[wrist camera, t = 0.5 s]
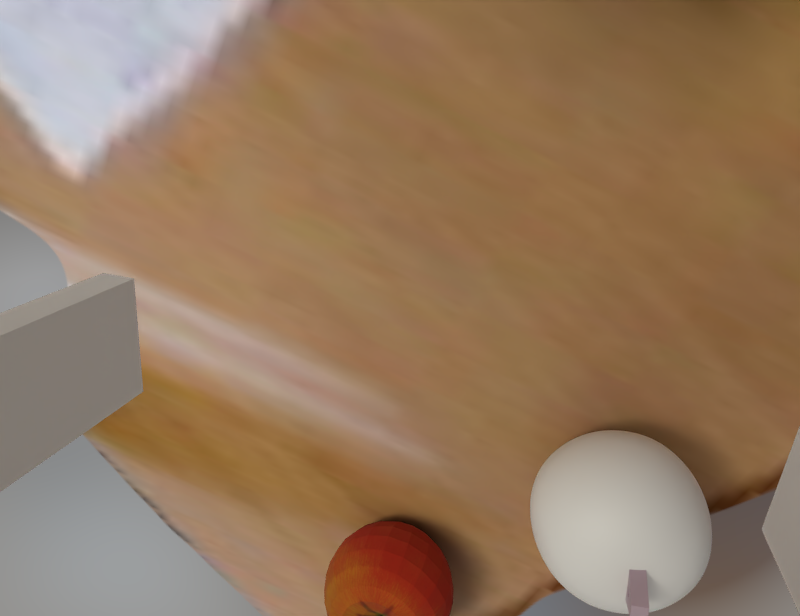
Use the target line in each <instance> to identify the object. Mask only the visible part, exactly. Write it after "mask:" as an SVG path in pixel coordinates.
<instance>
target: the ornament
mask: <svg viewBox="0 0 800 616" xmlns="http://www.w3.org/2000/svg"><path fill="white" fill-rule="evenodd" d="M530 516H531V525H532V530H533V534H534V538H535V541H536V544H537V547H538V550H539V552H540V554H541V556H542V558H543V560H544V562H545V564H546V565H547V567H548V569H549V570H550V571H551V573H552V574H553V575H554V577H555V578H556V579H557V580H558V581H559V583H560V584H561V585H562V586H563V587H564V588H566V589H567V590H568V591H569V592H570V593H572V594H573V595H574V596H576V597H577V598H579V599H580V600H582V601H584V602H585V603H587V604H589V605H592V606H594V607H597V608H599V609H602V610H606V611H610V612H615V613H623V614H629V615H630V616H648V615H649V612H653V611H657V610H660V609H663V608H665V607H667V606H670V605H671V604H673V603H675V602H677V601H679V600H680V599H682V598H683V597H684V596H686V595H687V594H688V593H689V592H690V591H691V590H692V589H693V588H694V587H695V586H696V585H697V583H698V582H699V580H700V579H701V577H702V576H703V574H704V572H705V570H706V567H707V564H708V561H709V558H710V554H711V547H712V525H711V518H710V514H709V510H708V506H707V503H706V500H705V497H704V495H703V492H702V490H701V488H700V486H699V484H698V482H697V481H696V479H695V477H694V476H693V474H692V473H691V471H690V470H689V469H688V467H687V466H686V465H685V464H684V463H683V462H682V460H681V459H680V458H679V457H678V456H677V455H675V454H674V453H673V452H672V451H671V450H670V449H668V448H667V447H665V446H664V445H662V444H661V443H659V442H657V441H656V440H654V439H651V438H649V437H647V436H644V435H641V434H638V433H634V432H628V431H620V430H604V431H596V432H591V433H588V434H584V435H581V436H579V437H576V438H574V439H572V440H570V441H568V442H567V443H565V444H564V445H562V446H561V447H559V448H558V449H557V450H556V451H554V452H553V453H552V454H551V455H550V456H549V457H548V459H547V460H546V461H545V462H544V464H543V465H542V467H541V468H540V470H539V472H538V474H537V476H536V478H535V481H534V484H533V488H532V493H531V500H530Z"/></svg>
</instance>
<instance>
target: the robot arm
mask: <svg viewBox="0 0 800 616" xmlns="http://www.w3.org/2000/svg"><path fill="white" fill-rule="evenodd" d="M142 392H143V384H142V371H141V359H140V347H139V334H138V322H137V310H136V297H135V285H134V278H128V277H123V276H117V275H112V274H106V273H102V274H100V275H97V276H94V277H92V278H89V279H87V280H84V281H82V282H79V283H76V284H74V285H71V286H69V287H66V288H64V289H61V290H58V291H56V292H54V293H51V294H49V295H46V296H43V297H41V298H38V299H35V300H33V301H30V302H28V303H25V304H22V305H20V306H17V307H15V308H13V309H10V310H7V311H5V312H2V313H0V492H1V491H2V490H4V489H5V488H6V487H8V486H9V485H11V484H12V483H14V482H15V481H17V480H18V479H19V478H21V477H22V476H24V475H25V474H26V473H28V472H29V471H31V470H32V469H34V468H35V467H36V466H38V465H39V464H41V463H42V462H43V461H45V460H46V459H48V458H49V457H51V456H52V455H53V454H55V453H56V452H58V451H59V450H60V449H62V448H63V447H65V446H66V445H68V444H69V443H71V442H72V441H73V440H75V439H76V438H77V437H79V436H81V435H82V434H83V433H85V432H86V431H88V430H89V429H90V428H92V427H93V426H95V425H96V424H98V423H99V422H100V421H102V420H103V419H105V418H106V417H108V416H109V415H110V414H112V413H113V412H115V411H116V410H117V409H119V408H120V407H122V406H123V405H125V404H126V403H127V402H129V401H130V400H132V399H133V398H134V397H136V396H137V395H139V394H140V393H142ZM762 531H763V534H764V536H765V538H766V540H767V543H768V545H769V547H770V549H771V552H772V554H773V556H774V559H775V561H776V563H777V565H778V567H779V570H780V572H781V574H782V576H783V579H784V581H785V583H786V586H787V588H788V590H789V592H790V594H791V597H792V599H793V601H794V604H795V606H796V608H797V610H798V613H799V615H800V427H799V430H798V432H797V435H796V438H795V440H794V443H793V446H792V448H791V451H790V454H789V456H788V459H787V462H786V465H785V467H784V470H783V473H782V475H781V478H780V481H779V483H778V486H777V489H776V491H775V494H774V497H773V499H772V502H771V505H770V508H769V510H768V513H767V516H766V518H765V521H764V524H763V526H762Z"/></svg>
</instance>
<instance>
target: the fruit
mask: <svg viewBox="0 0 800 616" xmlns="http://www.w3.org/2000/svg"><path fill="white" fill-rule="evenodd" d="M324 593H325V606H326V610H327V615H328V616H449V615H450V611H451V608H452V604H453V583H452V577H451V572H450V569H449V565H448V562H447V560H446V559H445V557H444V555H443V553H442V551H441V549H440V548H439V547H438V546H437V545H436V544H435V542H434V541H433V540H432V539H431V538H430V537H429V536H428V535H427V534H426V533H425V532H423V531H421V530H420V529H418V528H416V527H415V526H413V525H410V524H406V523H403V522H397V521H379V522H376V523H372V524H368V525H366V526H364V527H362V528H361V529H359V530H357V531H356V532H355V533H353V534H352V535H350V536H349V537H348V538H346V539H345V540H344V542H343V543H342V544H341V546H340V547H339V548H338V550H337V552H336V553H335V555H334V557H333V558H332V560H331V562H330V565H329V568H328V571H327V574H326V581H325V589H324Z"/></svg>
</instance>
